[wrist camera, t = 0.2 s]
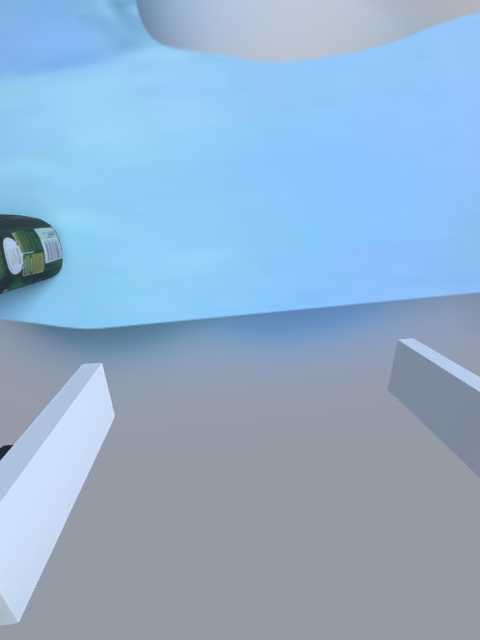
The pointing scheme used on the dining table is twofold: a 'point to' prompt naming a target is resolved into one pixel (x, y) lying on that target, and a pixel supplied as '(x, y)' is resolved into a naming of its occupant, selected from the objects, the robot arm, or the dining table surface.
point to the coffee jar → (27, 251)
